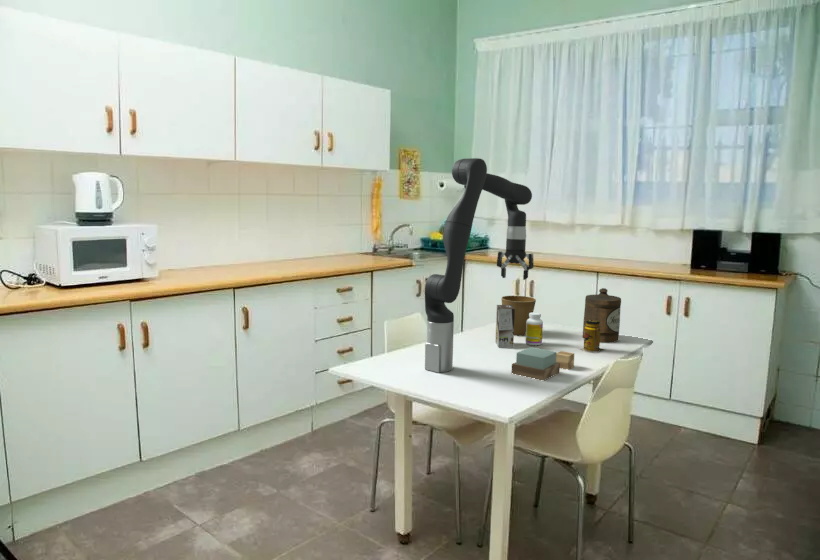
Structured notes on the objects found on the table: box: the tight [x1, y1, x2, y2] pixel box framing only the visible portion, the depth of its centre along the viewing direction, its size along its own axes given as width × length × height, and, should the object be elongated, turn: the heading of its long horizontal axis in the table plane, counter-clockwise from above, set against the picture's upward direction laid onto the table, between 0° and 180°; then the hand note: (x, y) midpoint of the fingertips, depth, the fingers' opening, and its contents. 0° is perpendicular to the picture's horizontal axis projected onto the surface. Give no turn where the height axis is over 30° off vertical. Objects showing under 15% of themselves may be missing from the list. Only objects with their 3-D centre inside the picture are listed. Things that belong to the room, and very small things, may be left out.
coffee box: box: [495, 304, 515, 349], centre depth 242 cm, size 9×6×16 cm
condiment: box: [579, 320, 606, 354], centre depth 237 cm, size 7×8×12 cm
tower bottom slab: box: [511, 362, 561, 381], centre depth 206 cm, size 12×12×4 cm
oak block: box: [556, 350, 575, 370], centre depth 214 cm, size 5×5×5 cm
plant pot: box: [501, 295, 537, 337], centre depth 262 cm, size 15×15×16 cm
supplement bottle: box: [525, 311, 544, 346], centre depth 245 cm, size 7×7×13 cm
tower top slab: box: [516, 346, 557, 370], centre depth 205 cm, size 10×10×4 cm
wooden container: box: [582, 287, 622, 344], centre depth 255 cm, size 15×15×22 cm
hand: (514, 278), depth 236 cm, fingers open, 8 cm apart
